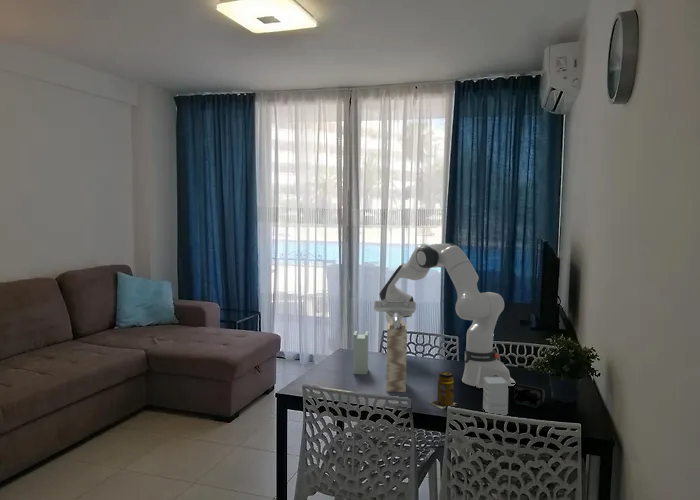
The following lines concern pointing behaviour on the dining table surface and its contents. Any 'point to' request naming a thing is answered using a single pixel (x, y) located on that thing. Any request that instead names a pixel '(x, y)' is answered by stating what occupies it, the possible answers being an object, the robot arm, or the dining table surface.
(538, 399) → the end cap
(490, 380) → the supplement box
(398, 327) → the axle
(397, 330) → the block
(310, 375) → the dining table surface
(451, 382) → the condiment
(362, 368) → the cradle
